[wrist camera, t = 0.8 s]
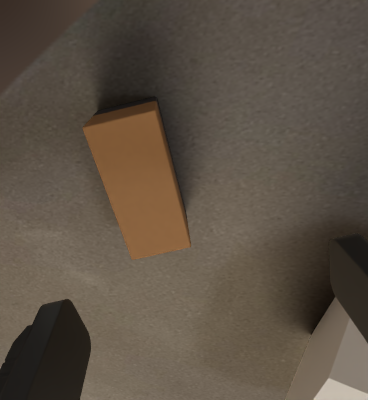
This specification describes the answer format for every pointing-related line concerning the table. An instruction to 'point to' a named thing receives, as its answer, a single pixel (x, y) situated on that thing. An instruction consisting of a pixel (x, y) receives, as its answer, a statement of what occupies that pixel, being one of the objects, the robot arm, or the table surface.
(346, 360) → the geometric form
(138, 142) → the eraser
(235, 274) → the table surface
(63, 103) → the table surface
